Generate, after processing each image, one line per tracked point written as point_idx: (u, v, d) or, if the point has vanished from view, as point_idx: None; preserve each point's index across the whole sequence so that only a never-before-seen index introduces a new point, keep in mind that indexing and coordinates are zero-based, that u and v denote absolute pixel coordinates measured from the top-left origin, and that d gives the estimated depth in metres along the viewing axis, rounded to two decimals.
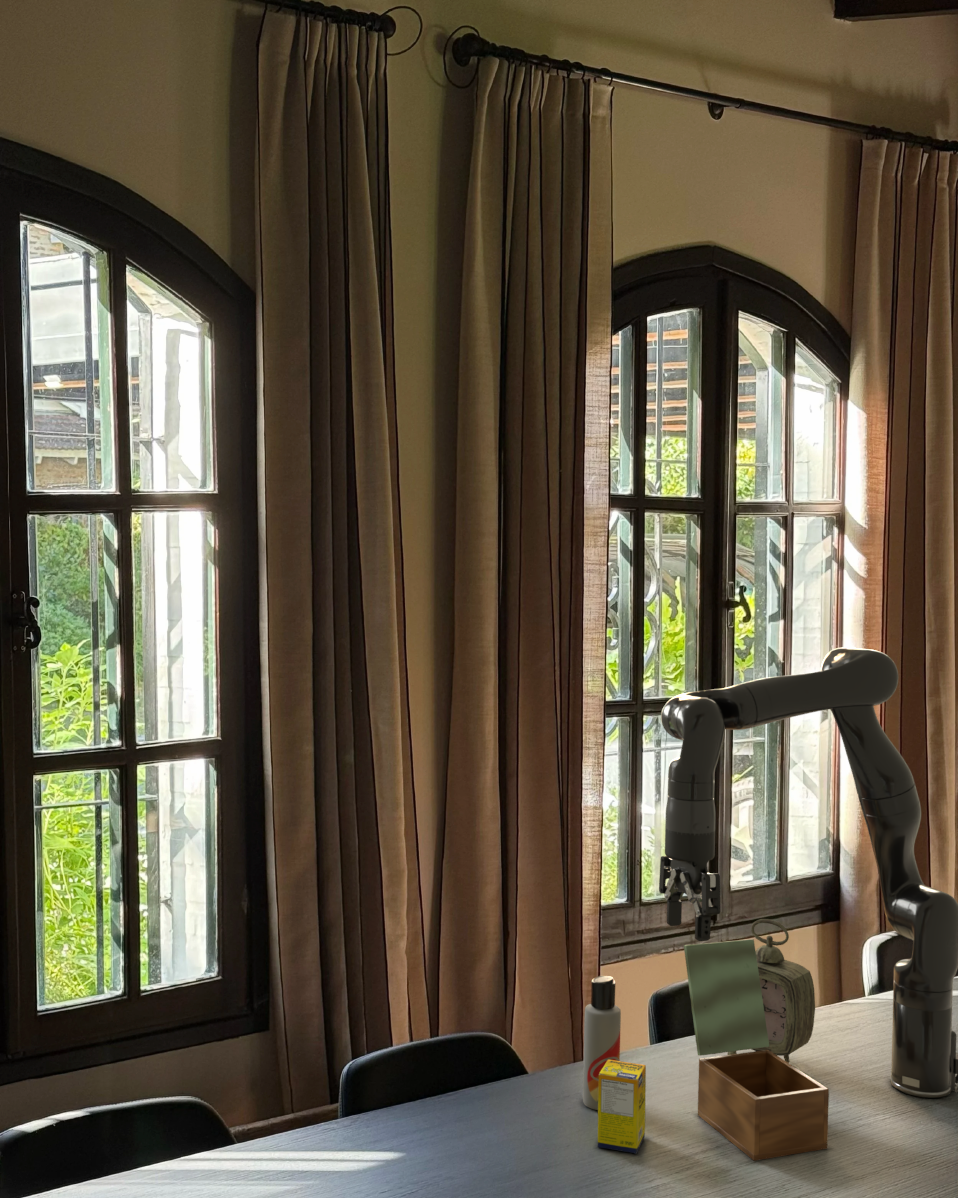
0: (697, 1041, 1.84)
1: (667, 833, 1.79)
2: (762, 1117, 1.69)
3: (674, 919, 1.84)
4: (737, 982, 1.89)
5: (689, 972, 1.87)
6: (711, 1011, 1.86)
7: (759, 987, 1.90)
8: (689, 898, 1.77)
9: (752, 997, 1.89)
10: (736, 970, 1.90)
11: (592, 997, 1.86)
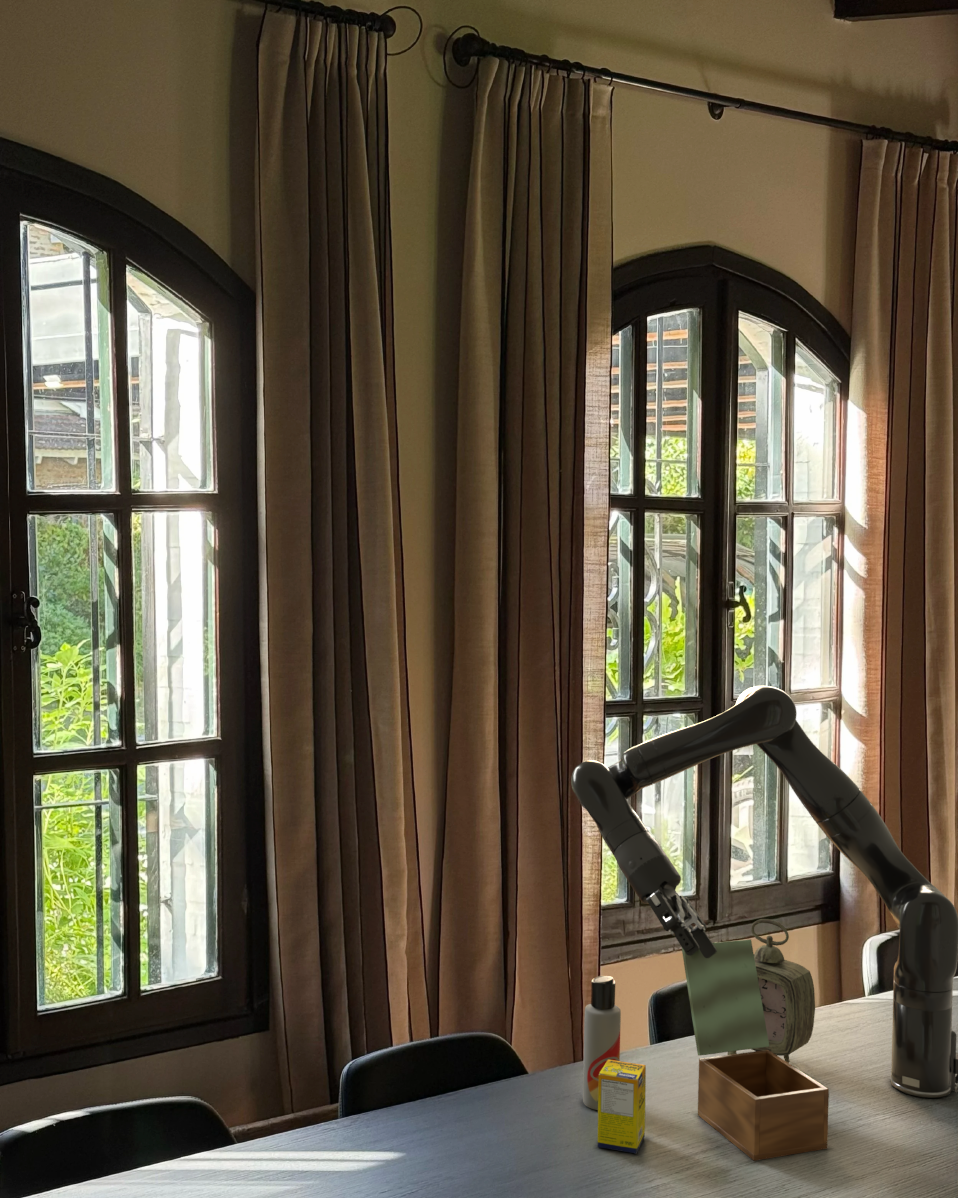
0: (697, 1041, 1.84)
1: None
2: (762, 1117, 1.69)
3: (707, 950, 1.87)
4: (735, 982, 1.90)
5: (687, 972, 1.87)
6: (710, 1011, 1.86)
7: (758, 987, 1.91)
8: None
9: (751, 997, 1.90)
10: (734, 970, 1.90)
11: (592, 997, 1.86)
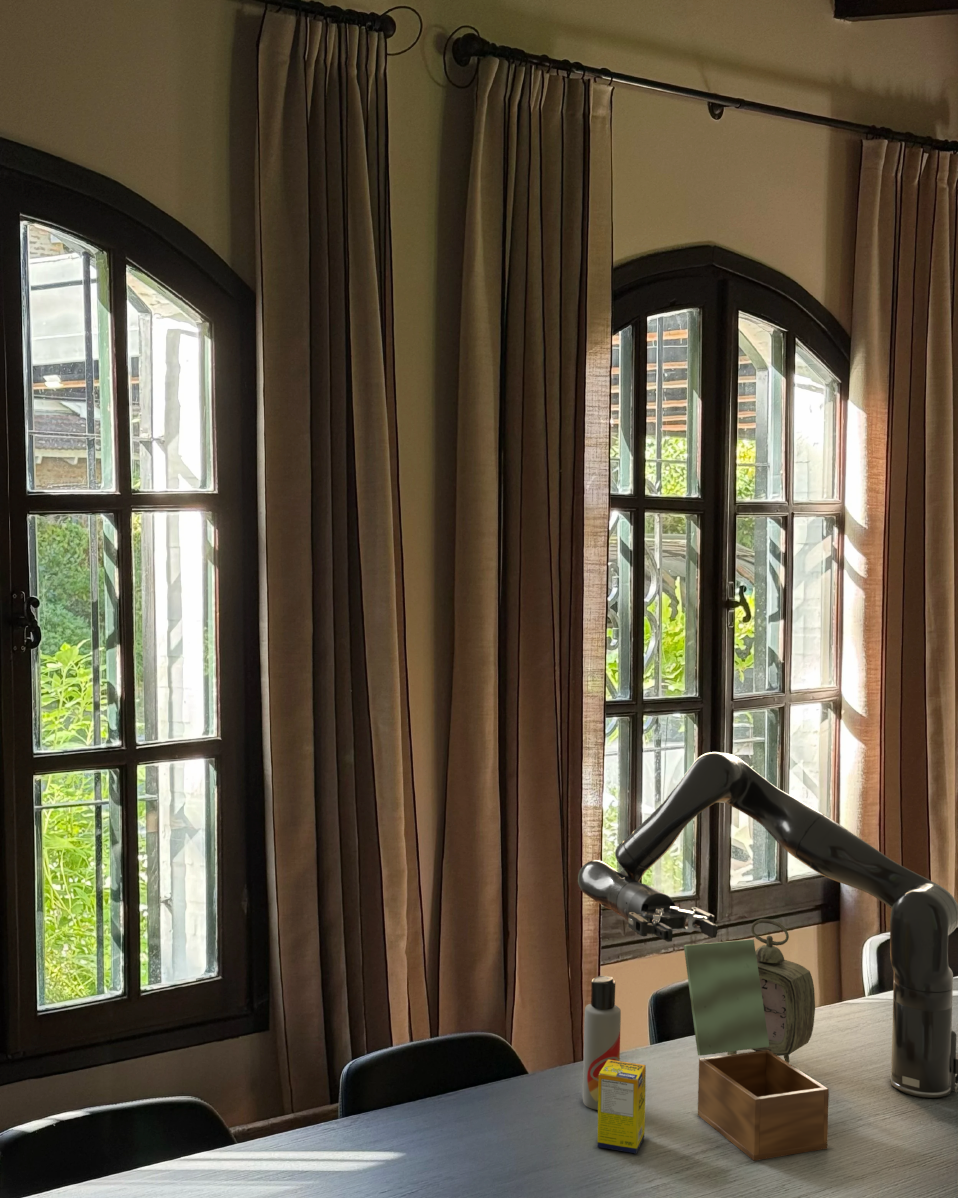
0: (697, 1041, 1.84)
1: None
2: (762, 1117, 1.69)
3: (710, 931, 2.00)
4: (737, 982, 1.89)
5: (689, 972, 1.87)
6: (711, 1011, 1.86)
7: (759, 987, 1.90)
8: None
9: (752, 997, 1.89)
10: (736, 970, 1.90)
11: (592, 997, 1.86)
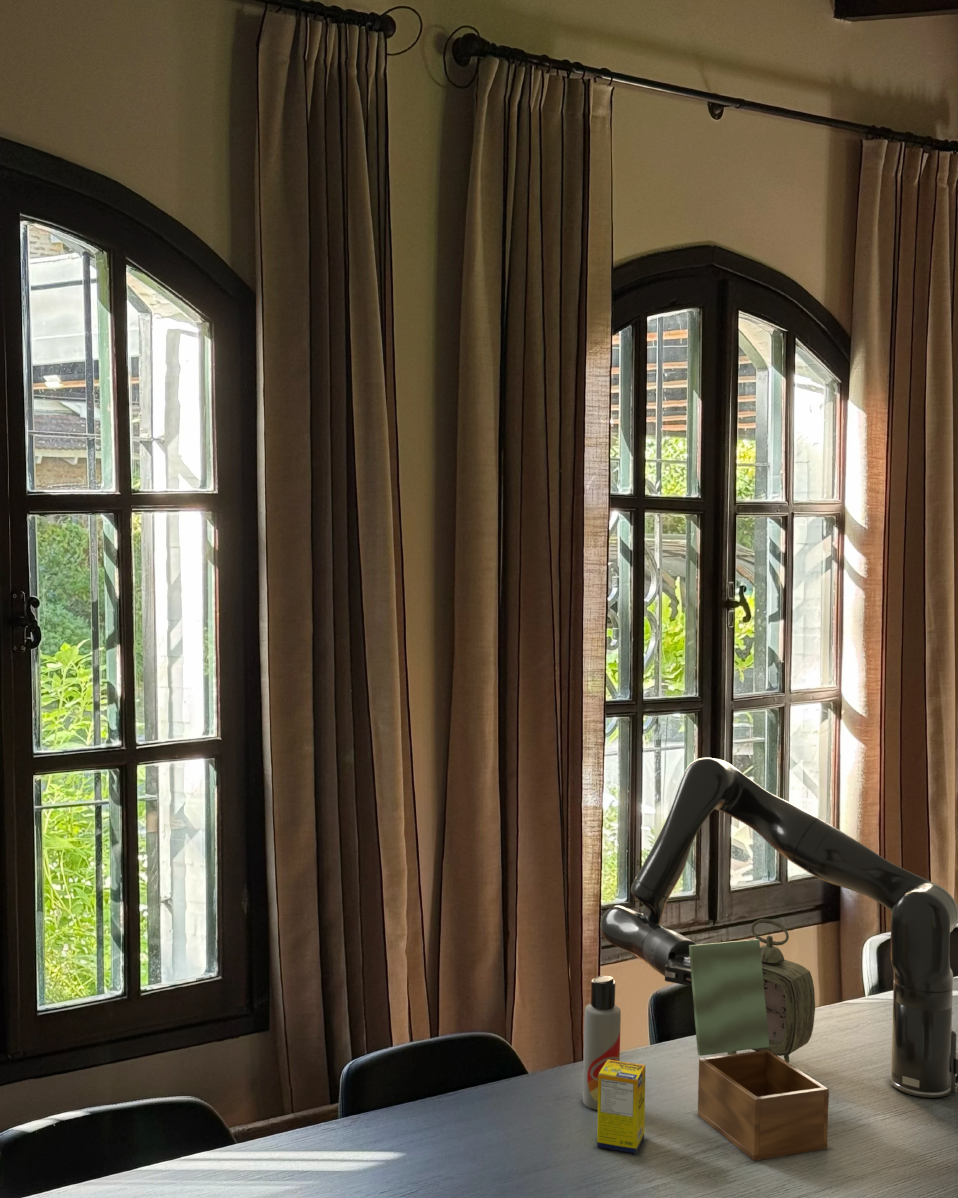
0: (698, 1041, 1.84)
1: None
2: (762, 1117, 1.69)
3: None
4: (740, 983, 1.88)
5: (693, 973, 1.86)
6: (713, 1012, 1.86)
7: (762, 988, 1.89)
8: None
9: (754, 998, 1.88)
10: (740, 971, 1.89)
11: (592, 997, 1.86)
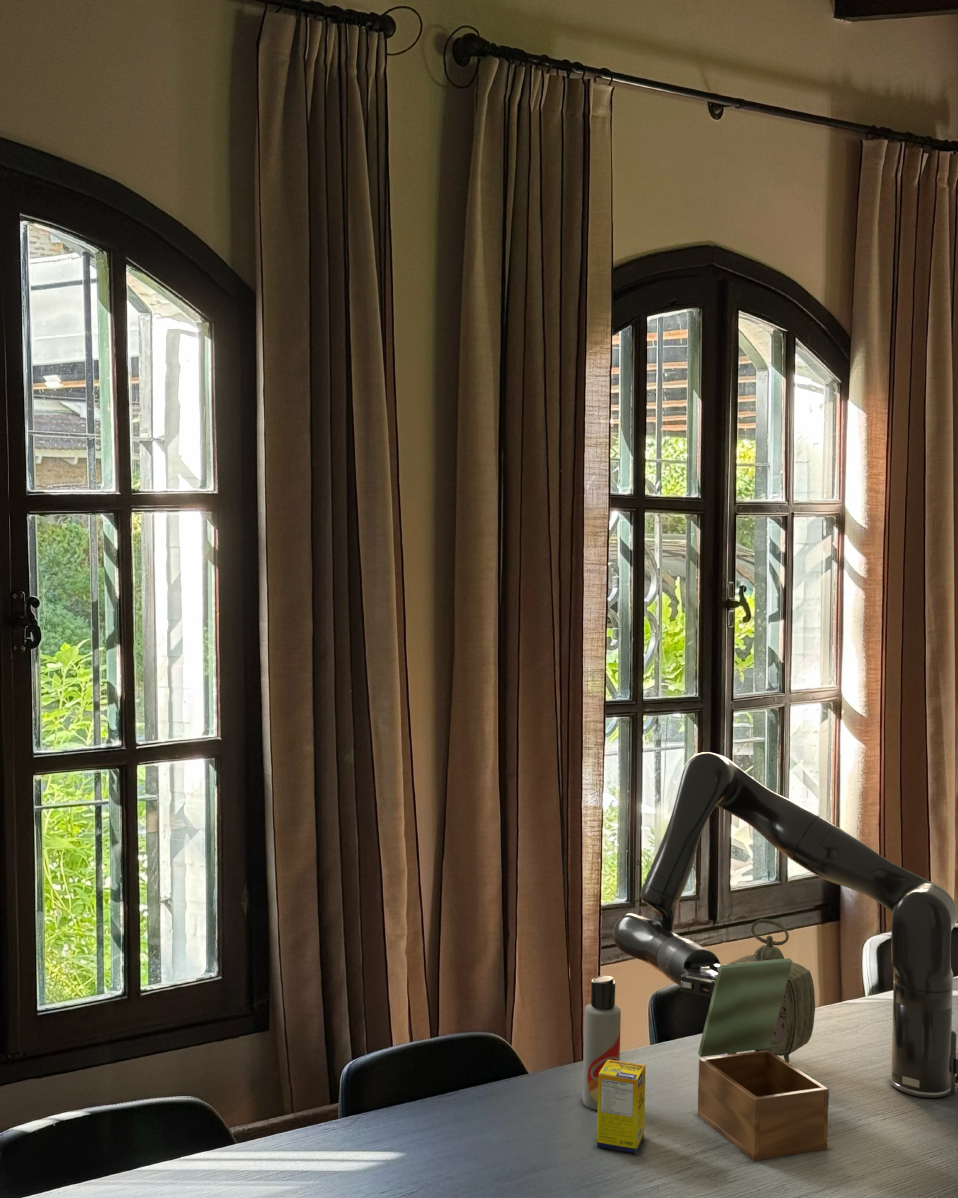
0: (702, 1045, 1.83)
1: None
2: (762, 1117, 1.69)
3: None
4: (760, 998, 1.83)
5: (716, 990, 1.79)
6: (725, 1022, 1.82)
7: (780, 1001, 1.85)
8: None
9: (769, 1010, 1.85)
10: (763, 988, 1.82)
11: (592, 997, 1.86)
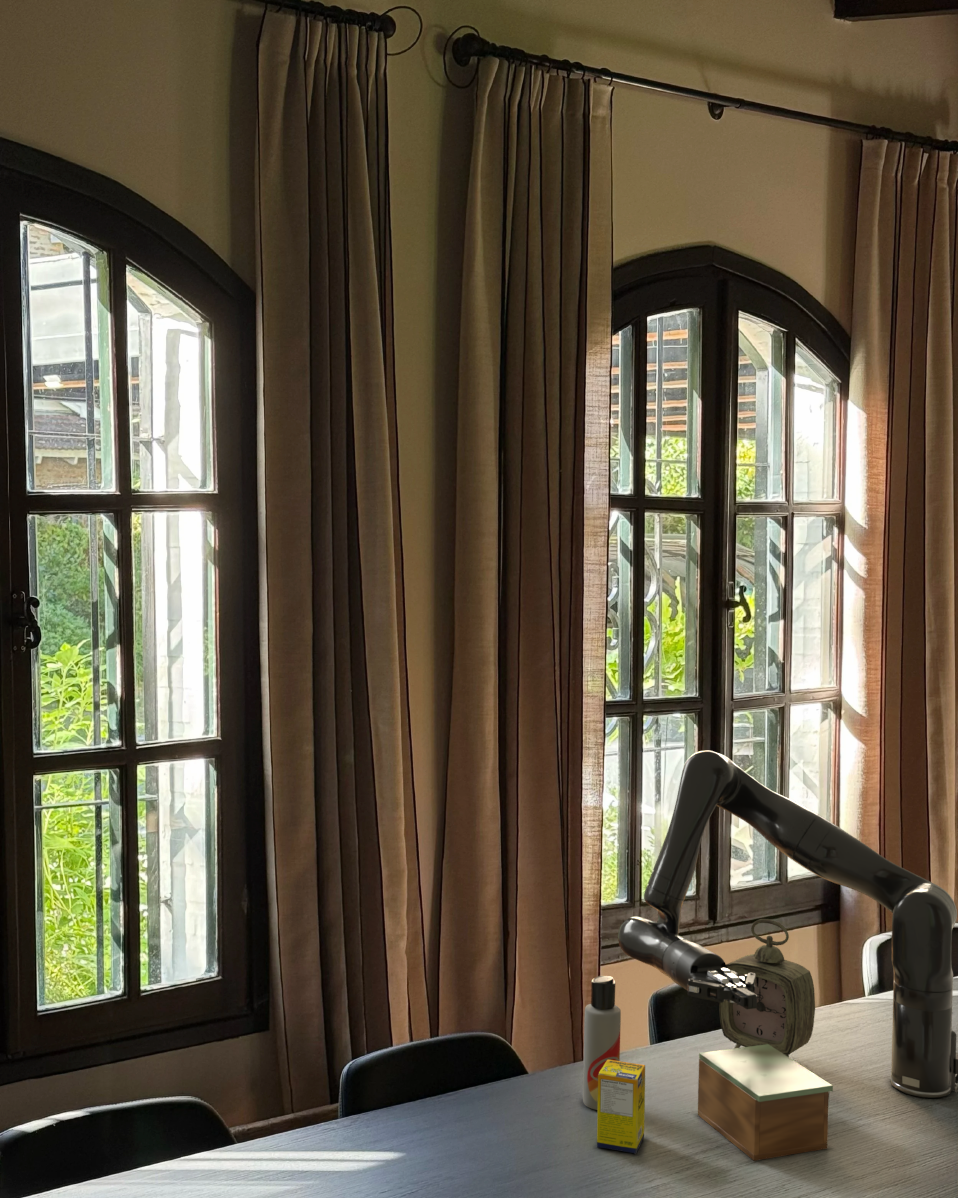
0: (706, 1061, 1.82)
1: None
2: (762, 1117, 1.69)
3: None
4: None
5: (743, 1089, 1.72)
6: None
7: None
8: None
9: None
10: None
11: (592, 997, 1.86)
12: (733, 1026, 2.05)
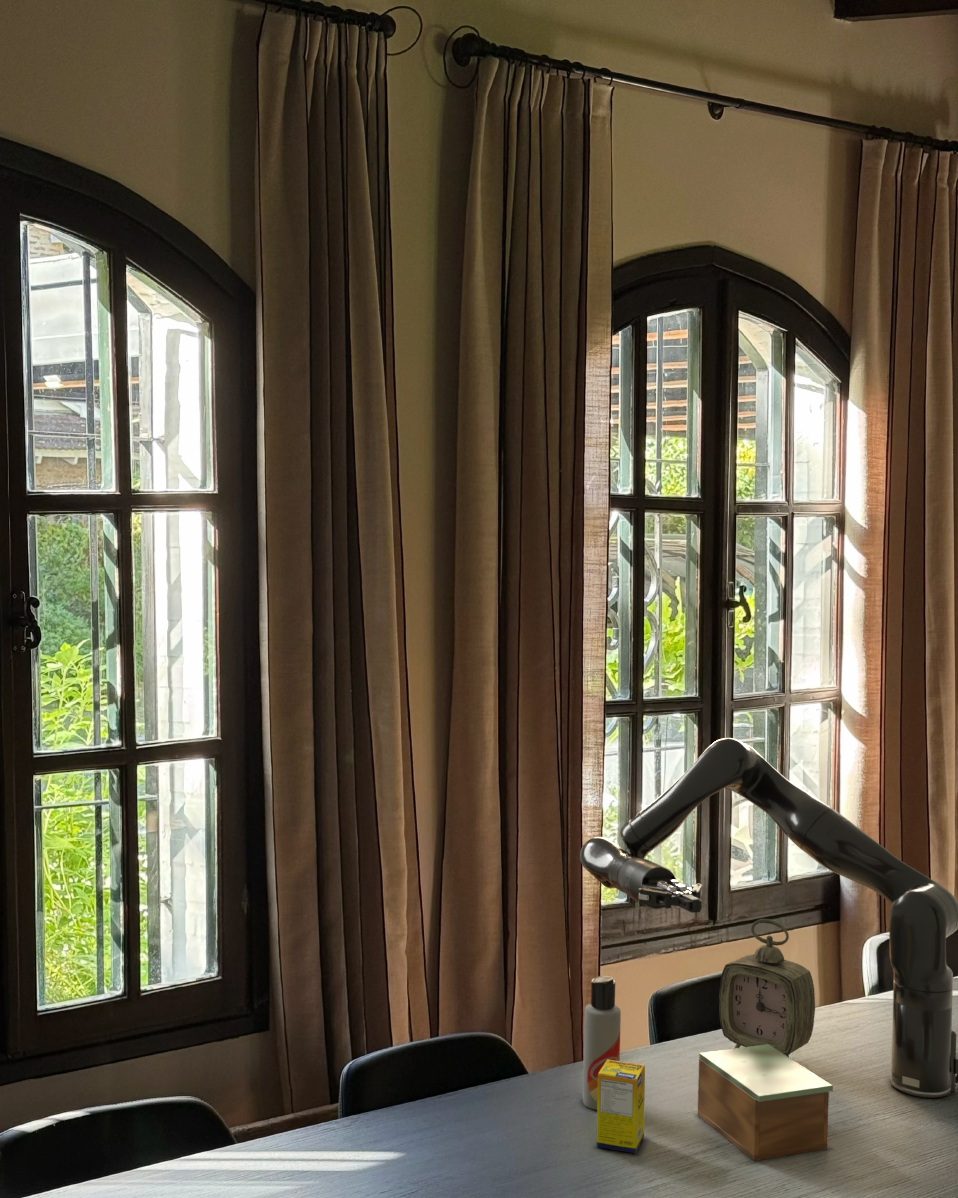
0: (706, 1061, 1.82)
1: None
2: (762, 1117, 1.69)
3: None
4: None
5: (743, 1089, 1.72)
6: None
7: None
8: None
9: None
10: None
11: (592, 997, 1.86)
12: (733, 1026, 2.05)
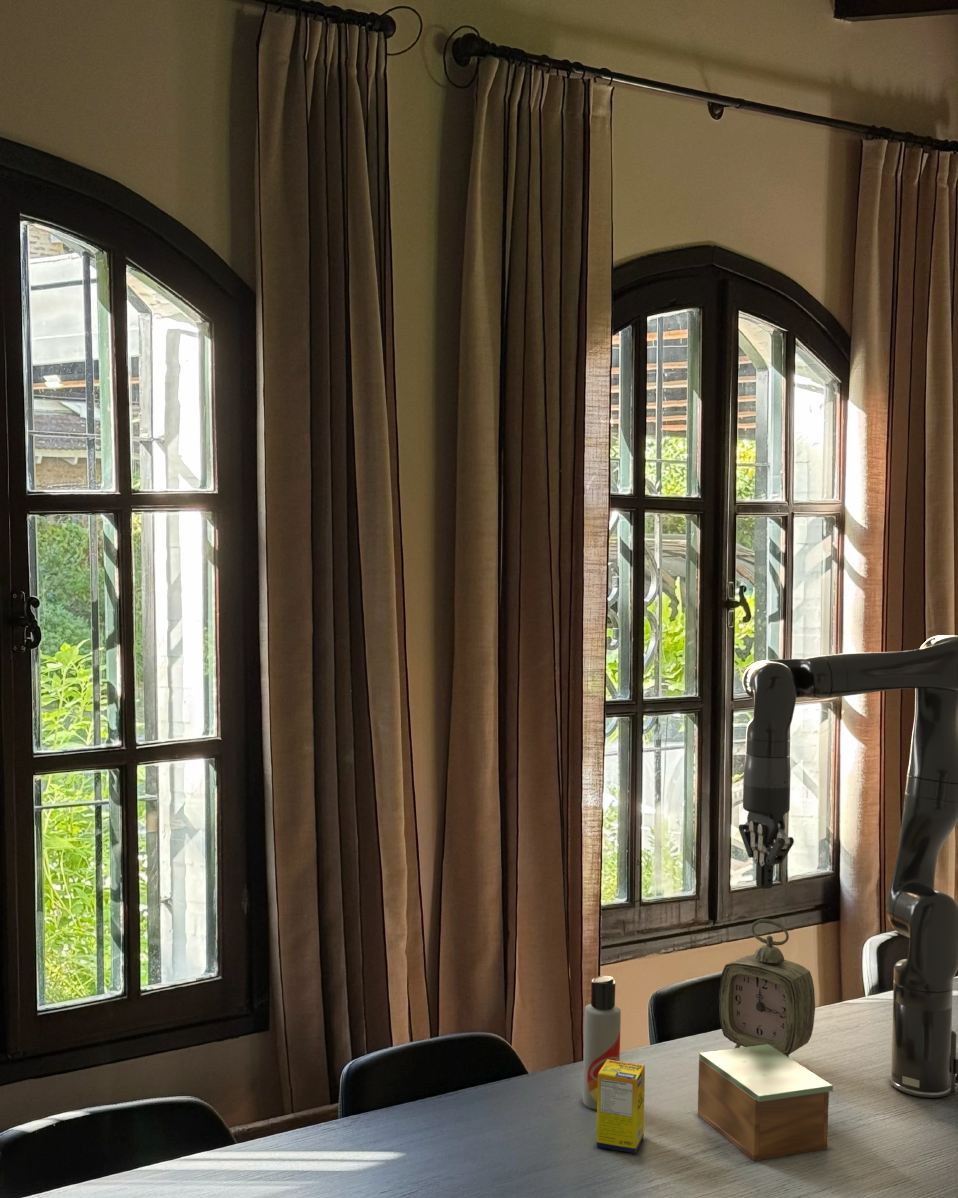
0: (706, 1061, 1.82)
1: (746, 788, 1.94)
2: (762, 1117, 1.69)
3: None
4: None
5: (743, 1089, 1.72)
6: None
7: None
8: (759, 848, 1.93)
9: None
10: None
11: (592, 997, 1.86)
12: (733, 1026, 2.05)
